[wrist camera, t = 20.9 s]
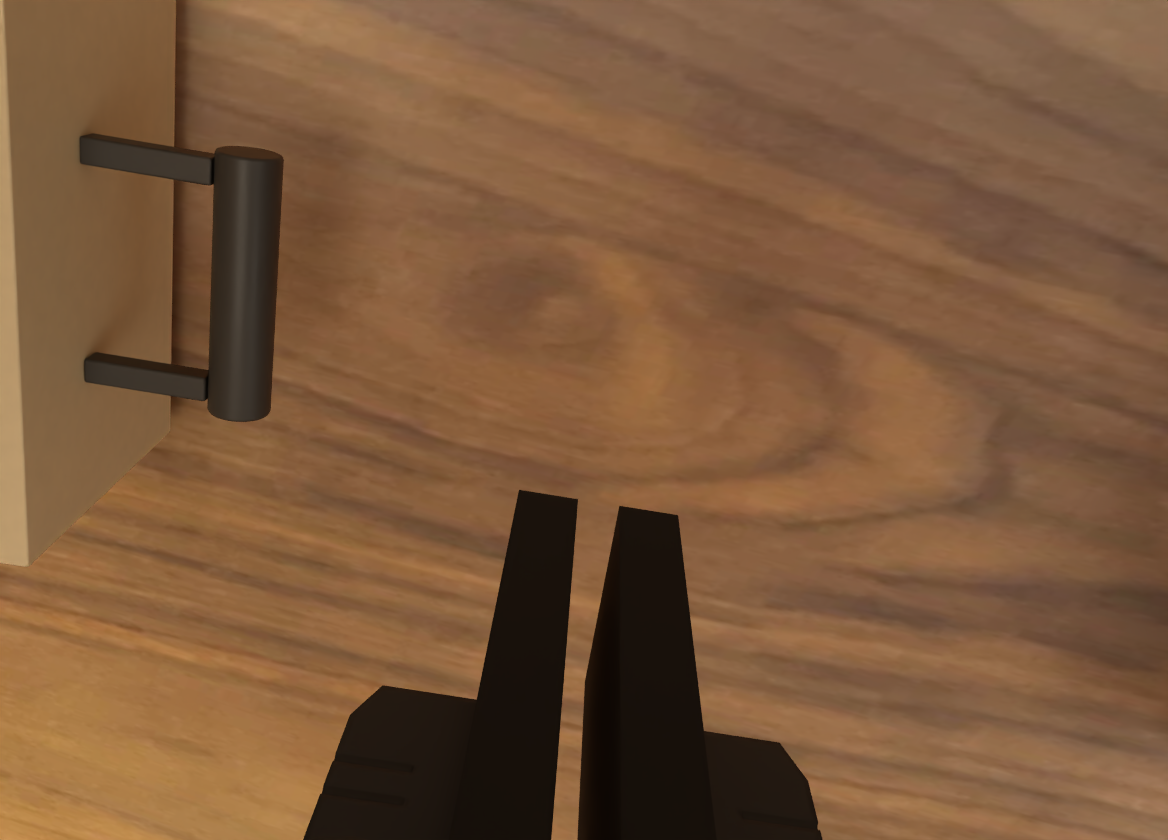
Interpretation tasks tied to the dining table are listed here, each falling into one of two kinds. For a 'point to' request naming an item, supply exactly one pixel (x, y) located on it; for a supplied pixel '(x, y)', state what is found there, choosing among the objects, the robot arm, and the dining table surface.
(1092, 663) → the dining table surface
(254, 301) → the drawer
